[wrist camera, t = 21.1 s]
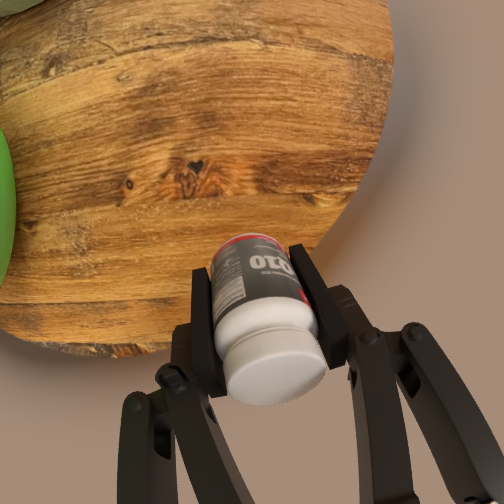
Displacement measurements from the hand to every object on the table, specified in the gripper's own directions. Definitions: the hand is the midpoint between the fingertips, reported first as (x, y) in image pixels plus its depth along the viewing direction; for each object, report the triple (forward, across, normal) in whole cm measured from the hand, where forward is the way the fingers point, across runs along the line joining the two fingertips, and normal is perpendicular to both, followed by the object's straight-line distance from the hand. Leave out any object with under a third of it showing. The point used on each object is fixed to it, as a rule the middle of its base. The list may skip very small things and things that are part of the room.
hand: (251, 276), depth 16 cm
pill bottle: (+1, 0, 0) cm, 1 cm away
